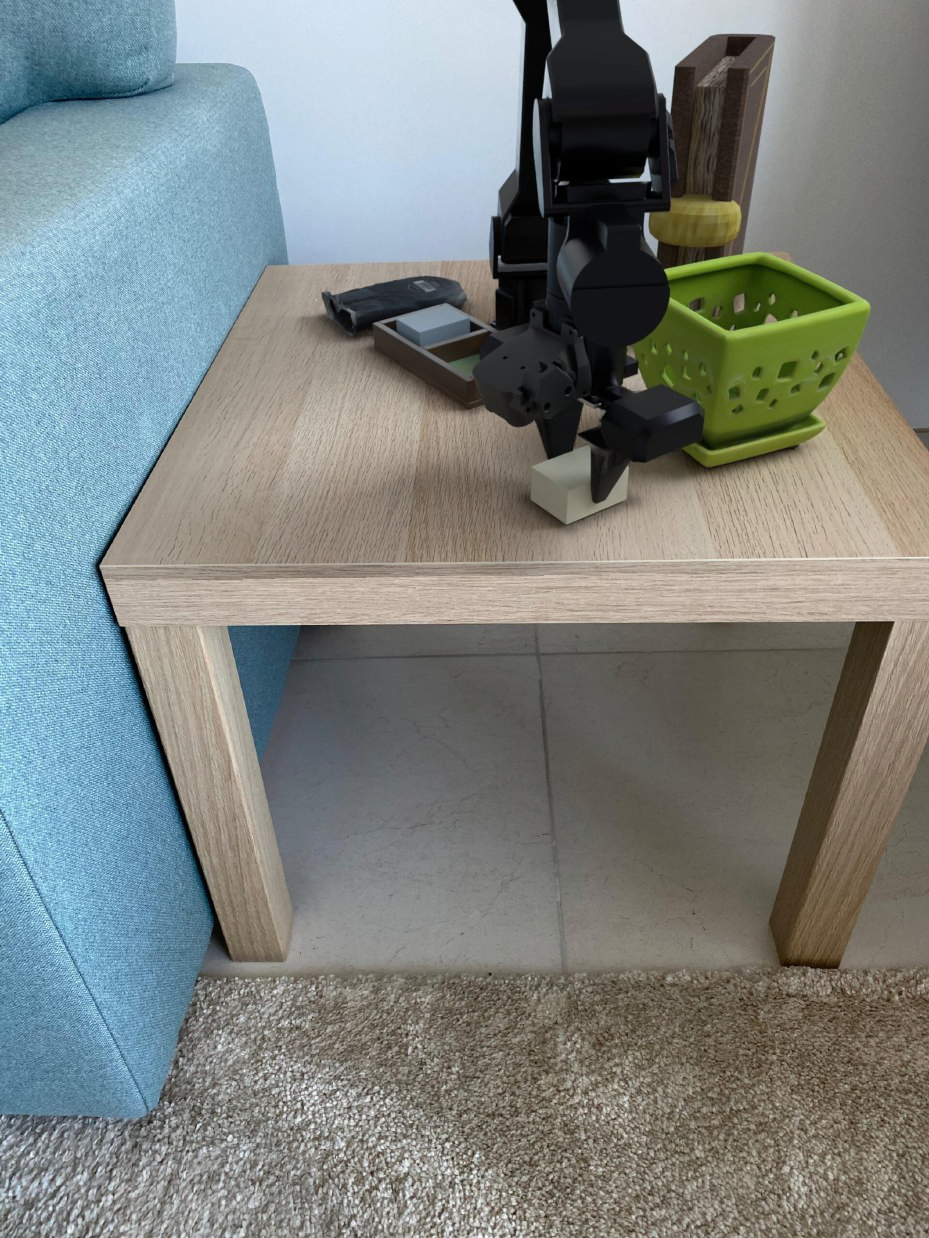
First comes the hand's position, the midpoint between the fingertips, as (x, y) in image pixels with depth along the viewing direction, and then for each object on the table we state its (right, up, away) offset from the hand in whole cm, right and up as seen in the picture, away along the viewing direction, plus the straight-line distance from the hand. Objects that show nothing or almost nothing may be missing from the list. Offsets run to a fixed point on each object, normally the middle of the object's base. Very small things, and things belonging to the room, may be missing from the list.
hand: (578, 488), depth 73 cm
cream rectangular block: (0, -1, +1) cm, 1 cm away
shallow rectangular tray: (-10, +15, +21) cm, 28 cm away
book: (+16, +22, +29) cm, 40 cm away
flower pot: (+14, +6, +9) cm, 17 cm away
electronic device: (-16, +24, +32) cm, 43 cm away
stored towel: (-12, +18, +23) cm, 32 cm away
